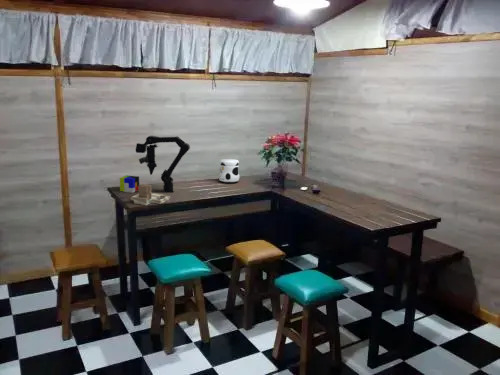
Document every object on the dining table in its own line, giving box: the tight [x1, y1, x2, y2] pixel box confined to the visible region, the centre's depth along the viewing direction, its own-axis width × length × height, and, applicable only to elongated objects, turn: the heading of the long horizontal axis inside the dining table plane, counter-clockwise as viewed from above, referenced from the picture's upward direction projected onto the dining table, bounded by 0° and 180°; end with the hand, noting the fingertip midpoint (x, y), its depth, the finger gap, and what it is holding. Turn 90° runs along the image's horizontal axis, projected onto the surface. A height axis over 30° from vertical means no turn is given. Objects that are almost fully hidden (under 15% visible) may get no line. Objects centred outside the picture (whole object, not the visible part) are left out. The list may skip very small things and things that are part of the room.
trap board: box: [130, 192, 171, 206], centre depth 293 cm, size 24×22×4 cm
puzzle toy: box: [119, 175, 140, 194], centre depth 316 cm, size 10×10×10 cm
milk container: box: [218, 158, 241, 184], centre depth 358 cm, size 17×17×18 cm
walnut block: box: [138, 184, 152, 200], centre depth 287 cm, size 6×6×9 cm
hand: (151, 174), depth 317 cm, fingers closed
